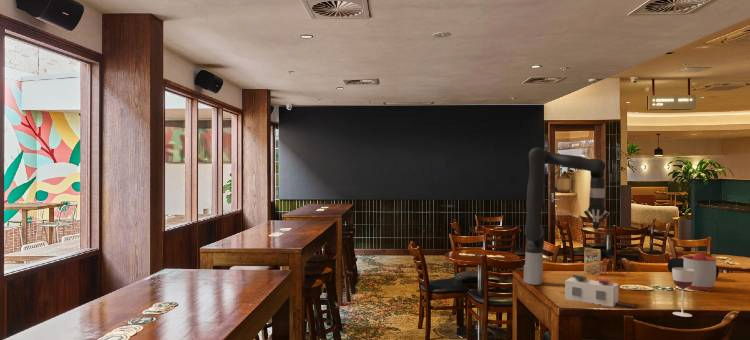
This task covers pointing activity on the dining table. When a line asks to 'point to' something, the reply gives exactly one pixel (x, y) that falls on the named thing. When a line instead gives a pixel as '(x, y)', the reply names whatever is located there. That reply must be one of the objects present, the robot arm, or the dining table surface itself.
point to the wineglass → (682, 284)
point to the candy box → (592, 261)
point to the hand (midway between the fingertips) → (596, 229)
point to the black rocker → (579, 277)
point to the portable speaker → (682, 265)
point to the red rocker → (603, 281)
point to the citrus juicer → (701, 271)
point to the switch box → (592, 292)
